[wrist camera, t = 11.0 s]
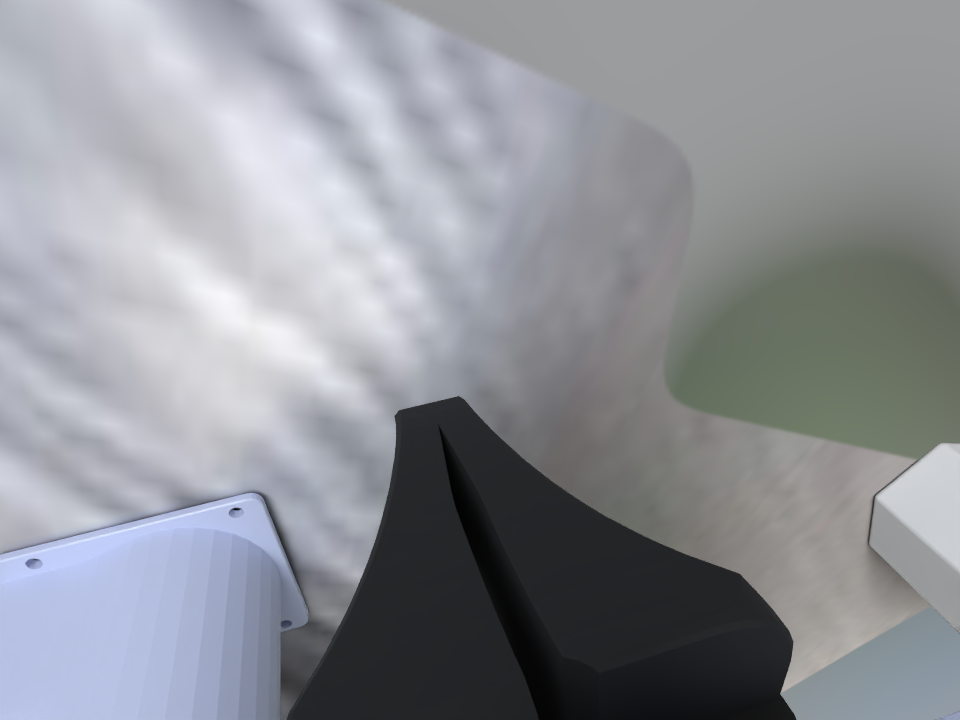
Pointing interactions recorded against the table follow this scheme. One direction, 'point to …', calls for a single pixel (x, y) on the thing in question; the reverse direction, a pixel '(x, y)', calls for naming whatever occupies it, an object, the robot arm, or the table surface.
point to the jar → (924, 528)
